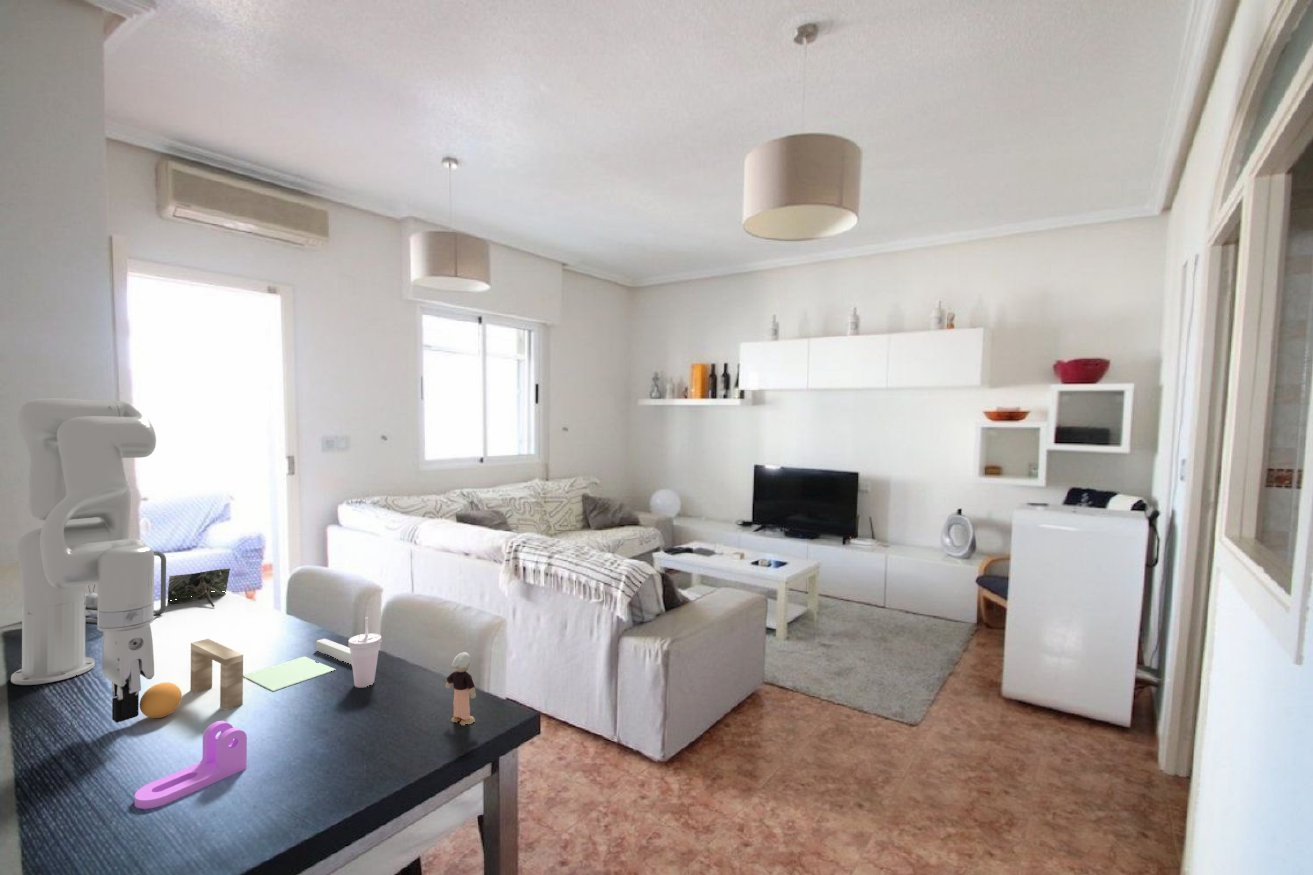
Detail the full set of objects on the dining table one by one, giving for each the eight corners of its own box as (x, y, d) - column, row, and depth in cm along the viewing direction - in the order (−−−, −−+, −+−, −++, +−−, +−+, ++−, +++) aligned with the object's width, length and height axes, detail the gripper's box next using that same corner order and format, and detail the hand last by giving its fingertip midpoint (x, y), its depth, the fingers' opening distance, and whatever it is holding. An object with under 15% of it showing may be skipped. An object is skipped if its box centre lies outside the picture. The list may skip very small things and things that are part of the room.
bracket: (228, 758, 97) (229, 716, 97) (246, 769, 94) (246, 726, 94) (127, 801, 86) (128, 753, 86) (144, 814, 83) (144, 765, 83)
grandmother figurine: (484, 718, 112) (485, 652, 112) (471, 728, 108) (473, 659, 108) (450, 711, 114) (451, 646, 114) (437, 720, 111) (438, 653, 111)
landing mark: (242, 676, 128) (242, 675, 128) (304, 657, 139) (304, 656, 139) (273, 691, 121) (273, 690, 121) (335, 670, 132) (335, 669, 132)
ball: (145, 677, 110) (182, 678, 115) (129, 710, 109) (168, 710, 113) (153, 688, 107) (191, 689, 111) (137, 723, 105) (176, 723, 110)
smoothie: (387, 678, 129) (388, 614, 128) (369, 691, 122) (370, 623, 122) (359, 676, 129) (360, 612, 129) (340, 689, 123) (341, 622, 123)
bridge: (224, 710, 113) (225, 659, 113) (190, 690, 121) (190, 642, 121) (242, 704, 115) (243, 654, 115) (207, 685, 123) (208, 638, 123)
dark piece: (165, 605, 175) (179, 631, 168) (169, 576, 172) (184, 601, 165) (225, 593, 187) (240, 617, 180) (229, 566, 185) (245, 589, 177)
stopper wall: (316, 651, 143) (316, 640, 143) (324, 648, 144) (324, 638, 144) (354, 666, 134) (355, 655, 134) (363, 663, 136) (363, 652, 136)
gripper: (168, 618, 105) (167, 721, 105) (137, 603, 113) (136, 699, 113) (113, 630, 99) (112, 740, 99) (84, 613, 107) (83, 714, 107)
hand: (125, 718), depth 106 cm, fingers closed
